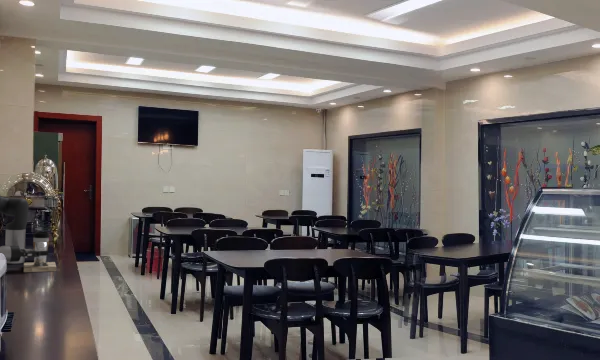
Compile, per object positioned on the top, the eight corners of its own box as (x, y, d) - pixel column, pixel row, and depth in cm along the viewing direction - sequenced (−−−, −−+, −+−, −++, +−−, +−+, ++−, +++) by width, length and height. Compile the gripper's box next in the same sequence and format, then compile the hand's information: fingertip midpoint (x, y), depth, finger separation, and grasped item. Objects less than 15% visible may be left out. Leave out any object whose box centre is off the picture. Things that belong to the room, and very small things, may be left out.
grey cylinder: (35, 268, 273) (37, 243, 273) (32, 266, 277) (34, 241, 277) (47, 267, 276) (49, 242, 277) (44, 266, 280) (45, 241, 281)
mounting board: (23, 266, 284) (24, 262, 284) (54, 266, 290) (54, 262, 290) (23, 272, 267) (23, 267, 267) (56, 271, 273) (56, 267, 273)
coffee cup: (51, 259, 312) (52, 232, 313) (43, 261, 304) (44, 233, 304) (37, 259, 313) (38, 231, 313) (28, 260, 305) (29, 232, 305)
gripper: (12, 247, 262) (51, 246, 273) (4, 244, 273) (42, 243, 284) (11, 263, 262) (50, 261, 273) (3, 260, 273) (41, 258, 284)
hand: (46, 252), depth 278 cm, fingers closed on grey cylinder, 5 cm apart
